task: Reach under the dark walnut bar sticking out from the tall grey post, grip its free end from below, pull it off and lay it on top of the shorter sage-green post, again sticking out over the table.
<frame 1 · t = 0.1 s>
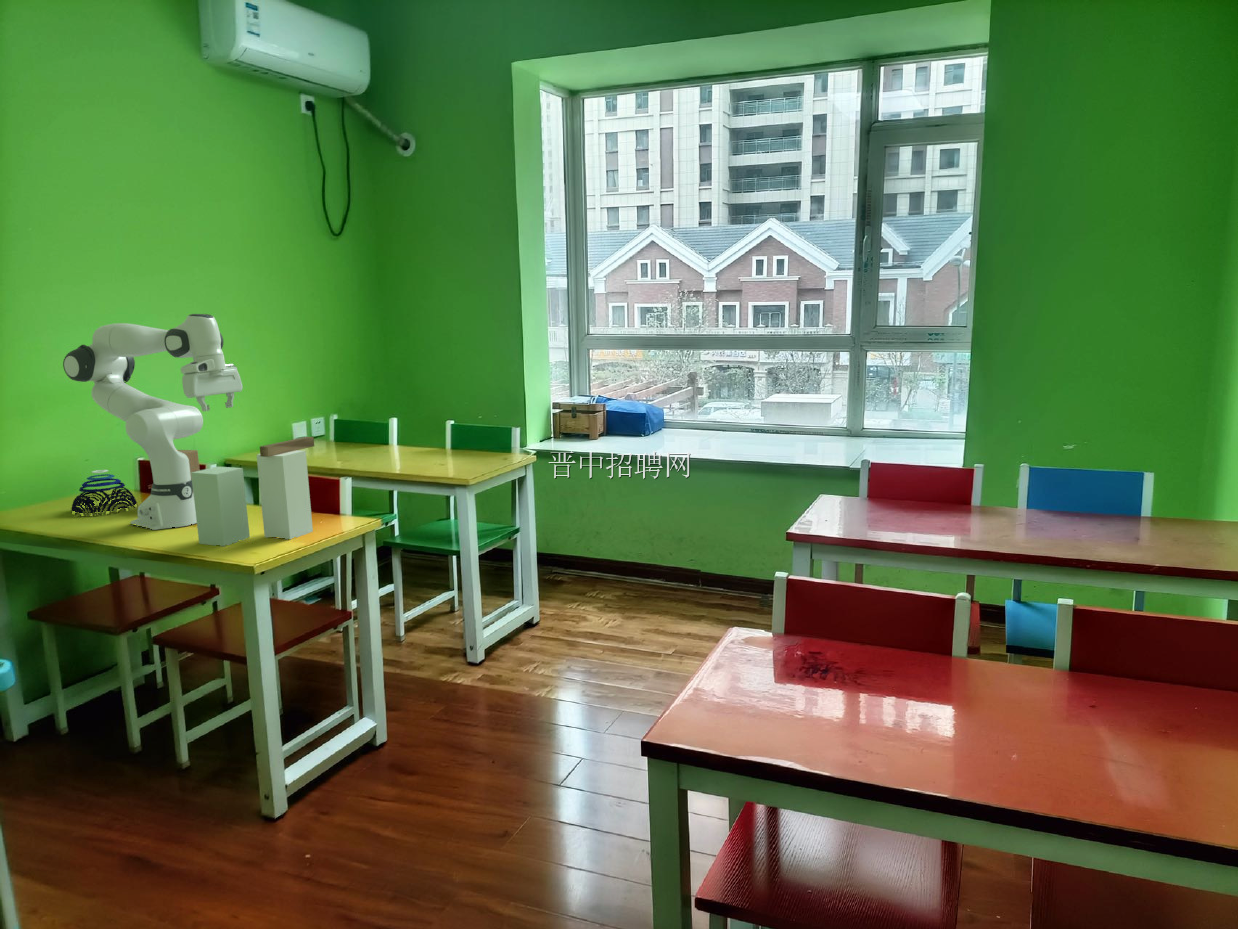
hand: (218, 409, 266), 39 cm above the table, tool pointing down, fingers open, 8 cm apart
walnut bar: (288, 451, 262), point 26 cm above the table, touching grey post
grey post: (289, 534, 265), on the table
decorative bowl: (104, 510, 303), on the table
sage post: (224, 540, 259), on the table
wooden block: (182, 506, 307), on the table
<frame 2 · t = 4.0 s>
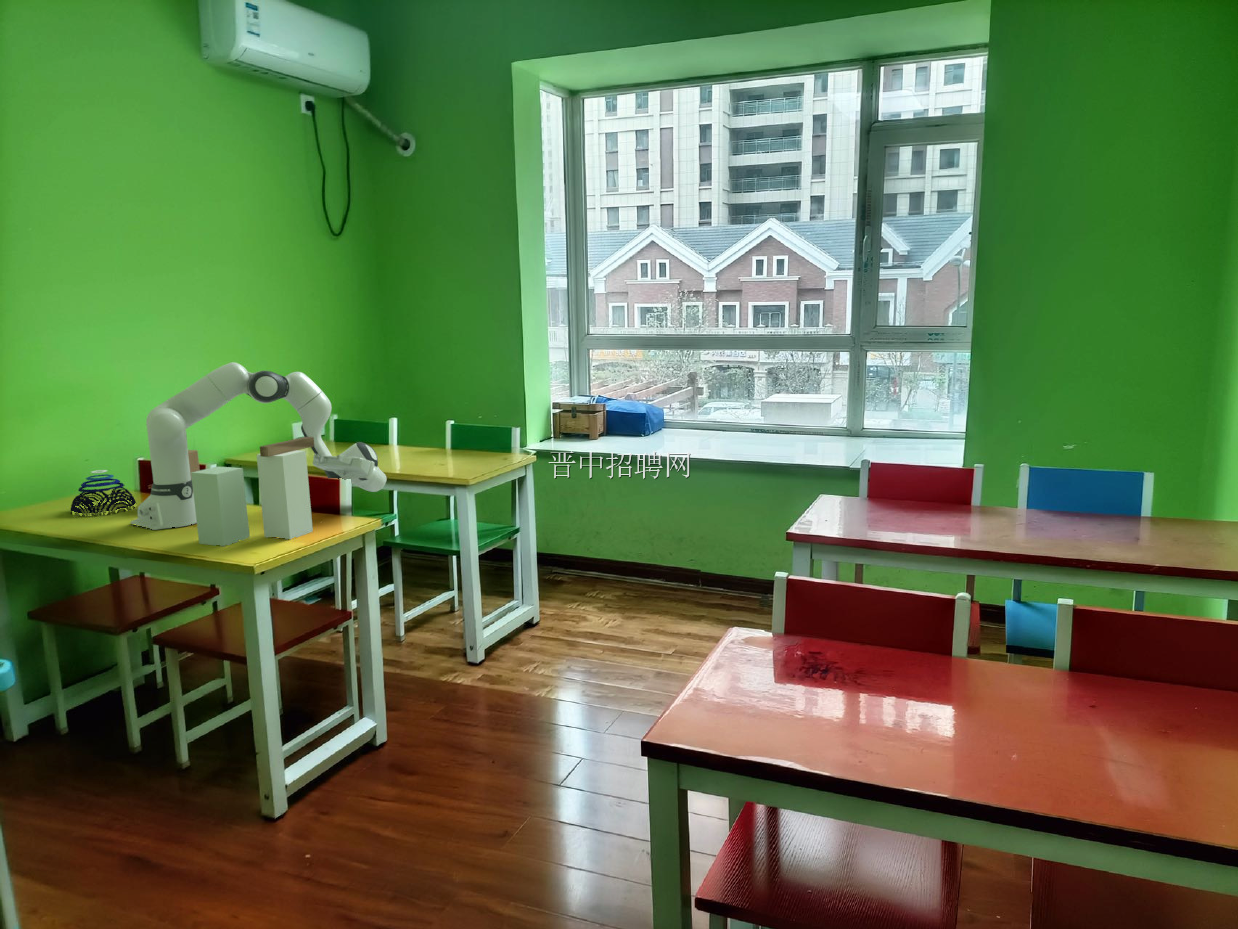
hand: (326, 456, 279), 21 cm above the table, tool pointing upward, fingers open, 8 cm apart
nothing on the table moved.
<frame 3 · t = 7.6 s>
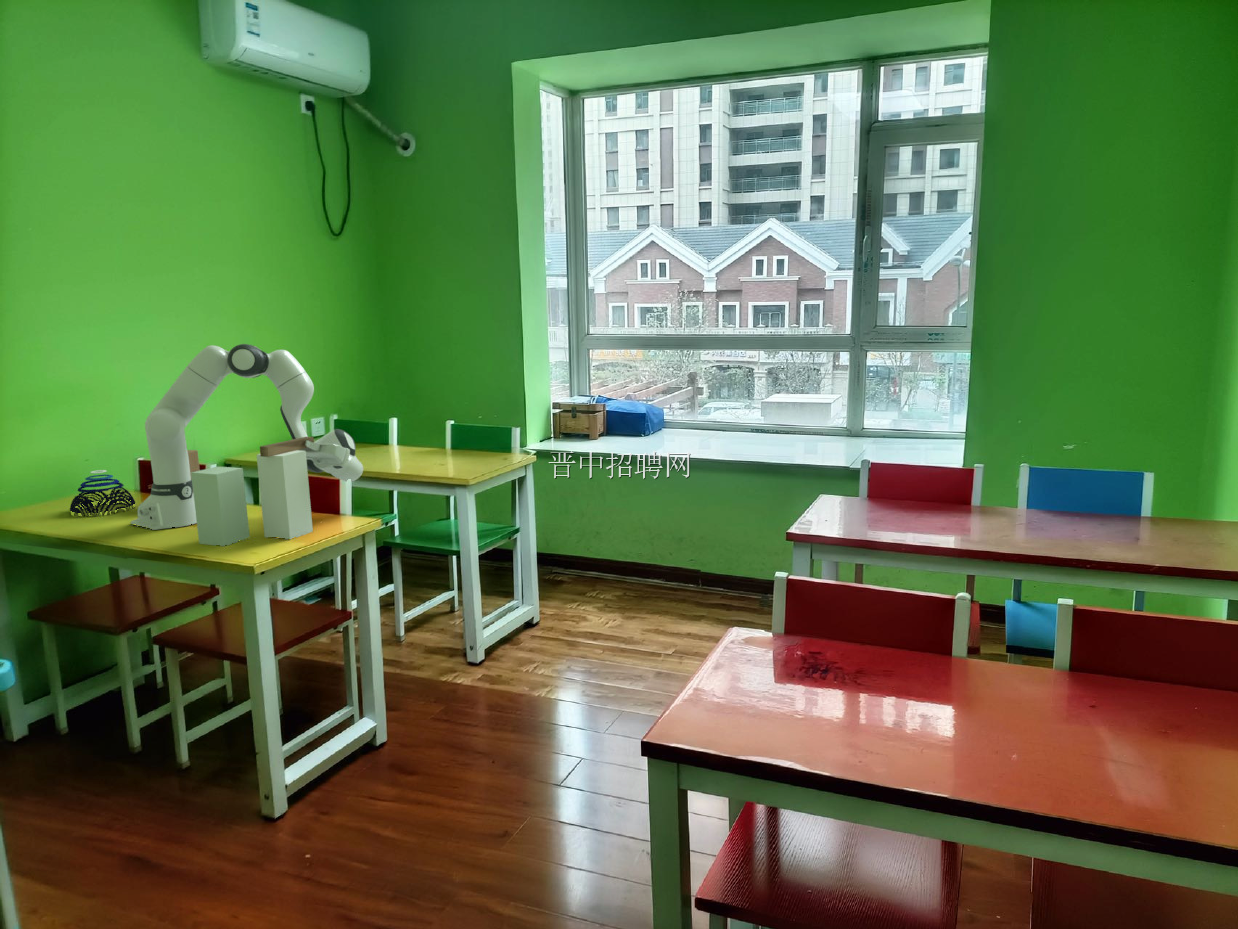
hand: (299, 442, 267), 28 cm above the table, tool pointing upward, fingers closed on walnut bar, 3 cm apart
walnut bar: (288, 451, 262), point 26 cm above the table, touching grey post, gripper
everything else where it was.
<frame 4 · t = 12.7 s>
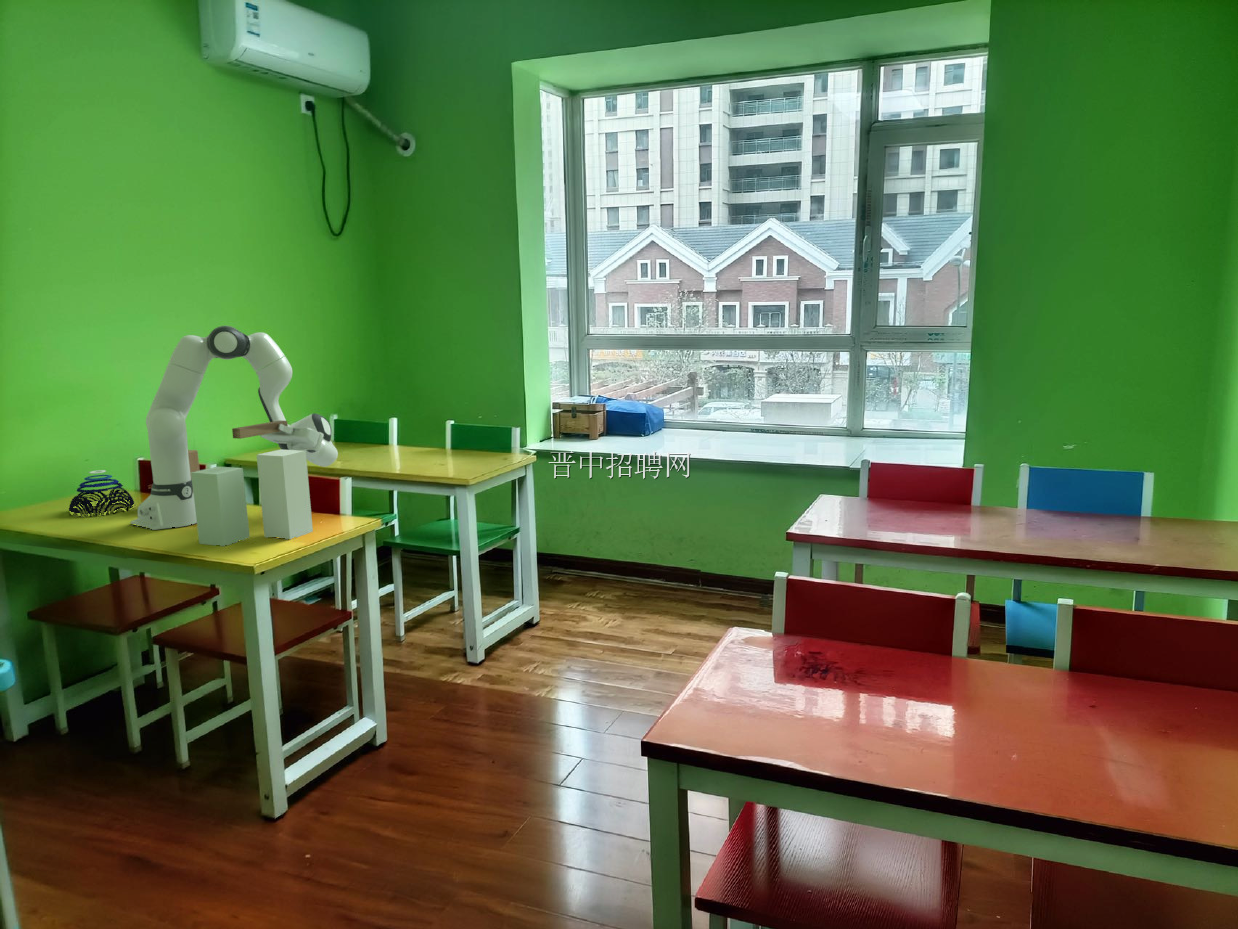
hand: (273, 425, 271), 33 cm above the table, tool pointing upward, fingers closed on walnut bar, 3 cm apart
walnut bar: (261, 433, 266), point 31 cm above the table, touching gripper
everything else where it was.
when the fingers open (25 cm above the table, at t = 17.9 s): walnut bar drops 2 cm, resting on sage post.
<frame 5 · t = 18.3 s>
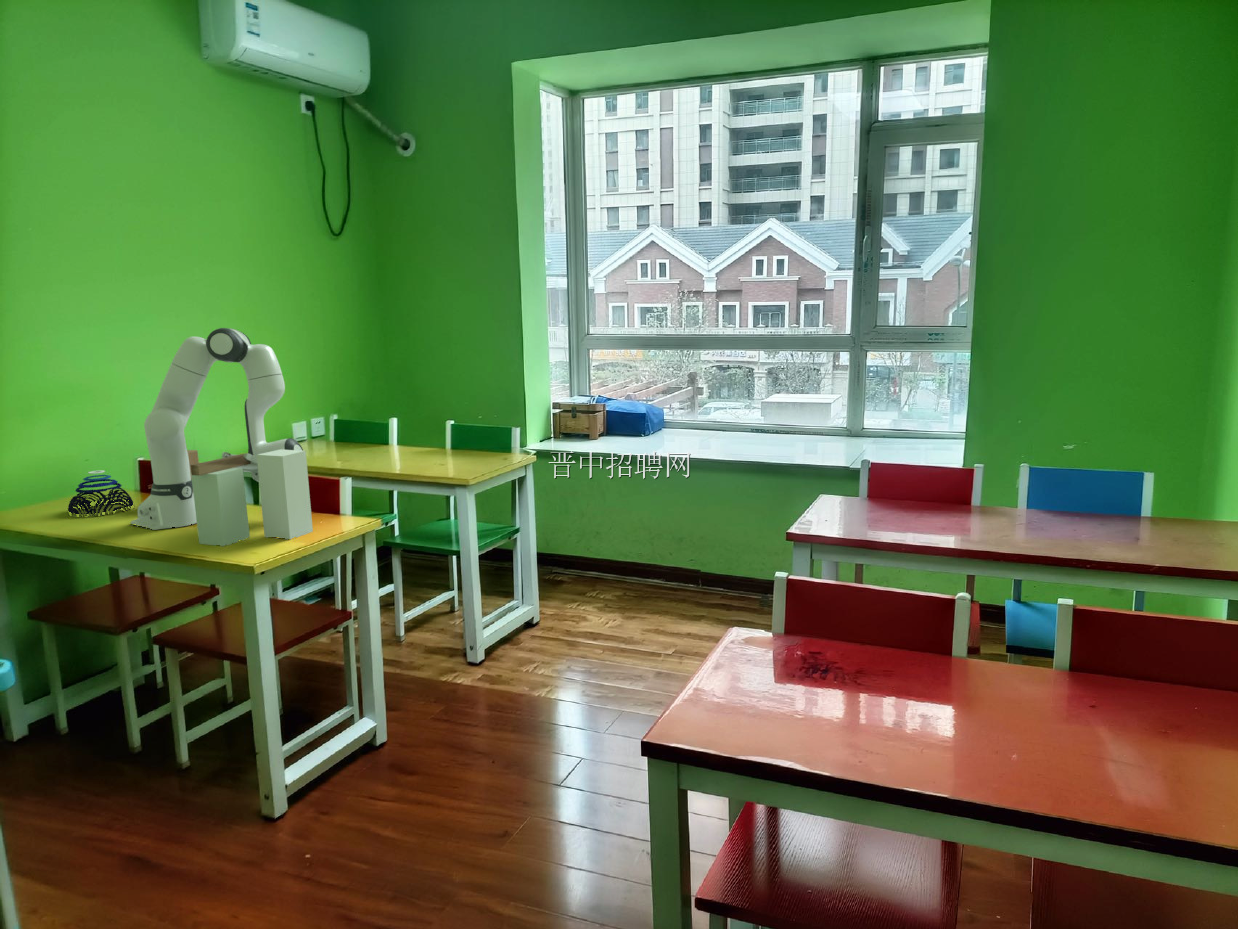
hand: (234, 455, 260), 25 cm above the table, tool pointing upward, fingers open, 7 cm apart
walnut bar: (222, 469, 256), point 22 cm above the table, touching sage post
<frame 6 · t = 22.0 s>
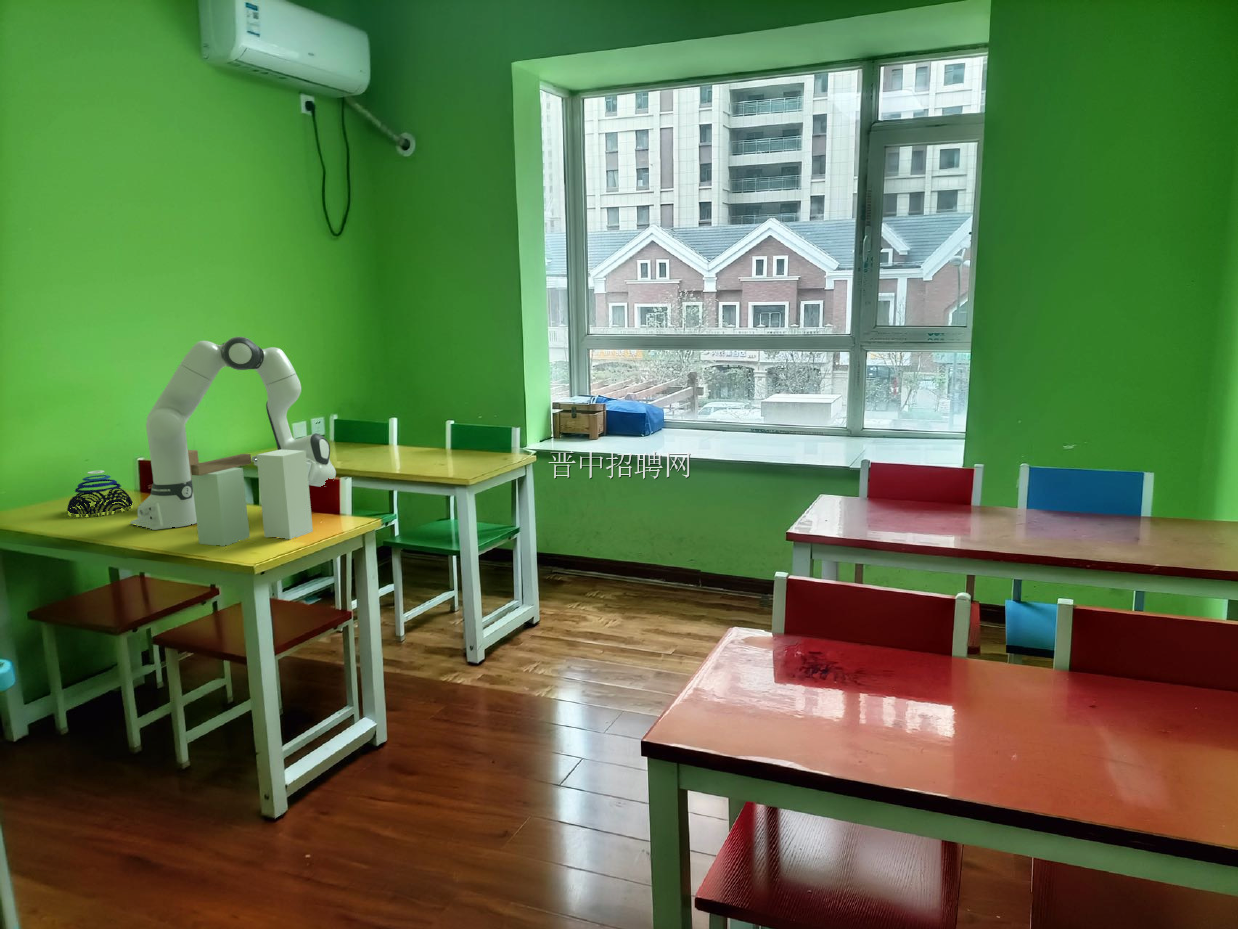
hand: (263, 460, 273), 22 cm above the table, tool pointing upward, fingers open, 8 cm apart
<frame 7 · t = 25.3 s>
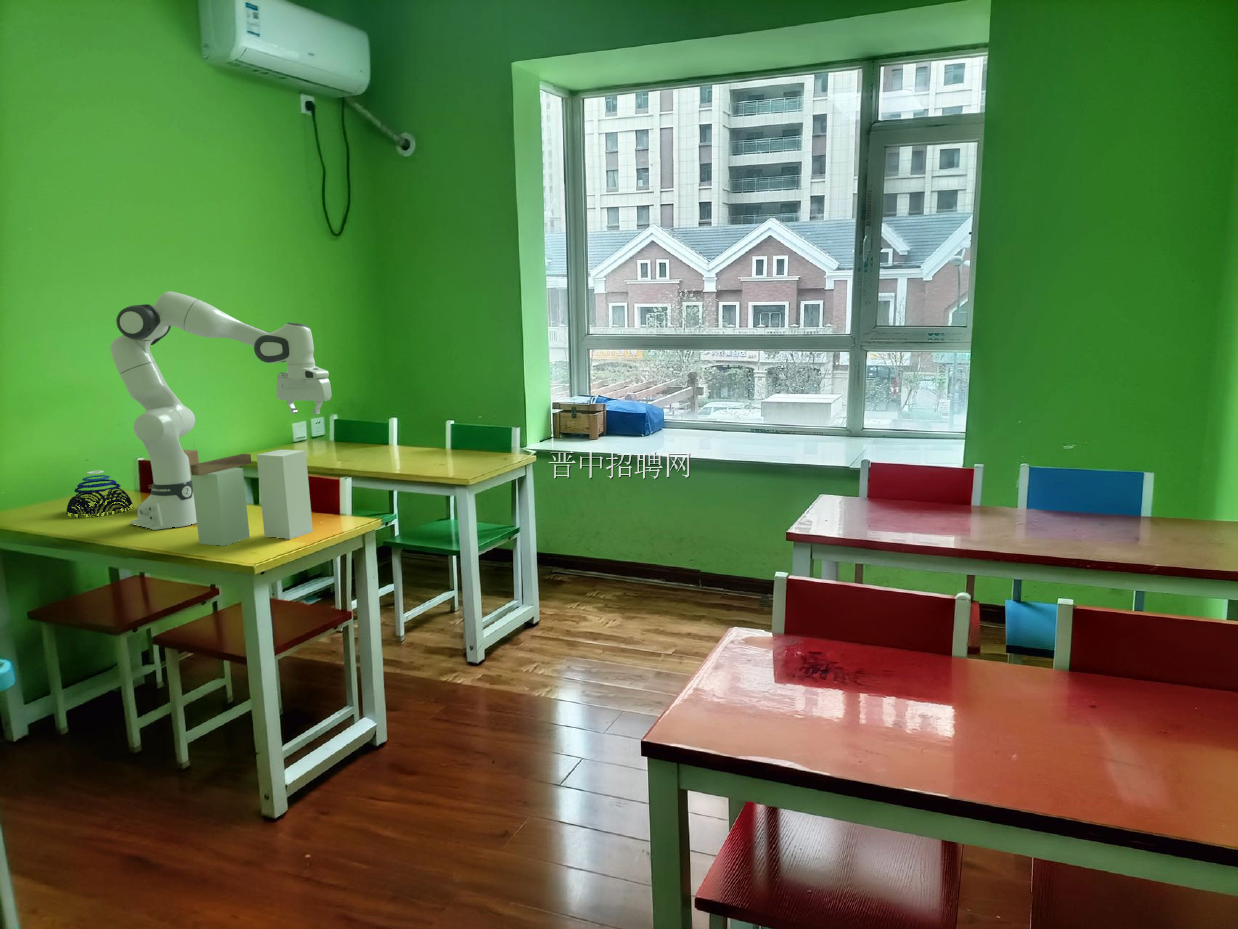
hand: (305, 413, 281), 35 cm above the table, tool pointing down, fingers open, 8 cm apart
at the end: walnut bar inside the target area (0.0 cm from its centre), point 22.0 cm above the table; walnut bar tilted 0°; the gripper is holding nothing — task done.
